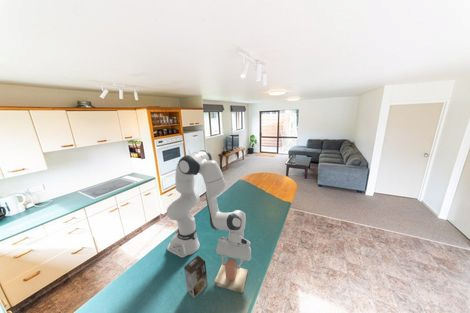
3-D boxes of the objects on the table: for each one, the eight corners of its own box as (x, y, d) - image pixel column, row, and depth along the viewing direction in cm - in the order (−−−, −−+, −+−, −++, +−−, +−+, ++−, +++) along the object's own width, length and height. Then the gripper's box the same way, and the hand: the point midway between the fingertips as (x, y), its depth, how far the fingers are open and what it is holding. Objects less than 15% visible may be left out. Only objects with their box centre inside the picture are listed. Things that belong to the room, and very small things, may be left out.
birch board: (214, 284, 90) (214, 281, 90) (222, 266, 101) (222, 263, 101) (242, 293, 85) (242, 290, 85) (248, 272, 97) (247, 269, 96)
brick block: (225, 278, 91) (225, 265, 89) (228, 270, 96) (228, 257, 94) (234, 280, 90) (233, 267, 88) (237, 272, 94) (236, 259, 92)
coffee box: (200, 278, 94) (198, 254, 90) (208, 285, 90) (205, 260, 86) (186, 291, 87) (183, 266, 83) (194, 299, 83) (191, 273, 79)
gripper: (217, 235, 98) (211, 262, 91) (251, 242, 92) (247, 271, 85) (220, 236, 103) (215, 262, 96) (253, 243, 97) (249, 271, 90)
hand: (230, 267), depth 91 cm, fingers open, 7 cm apart
